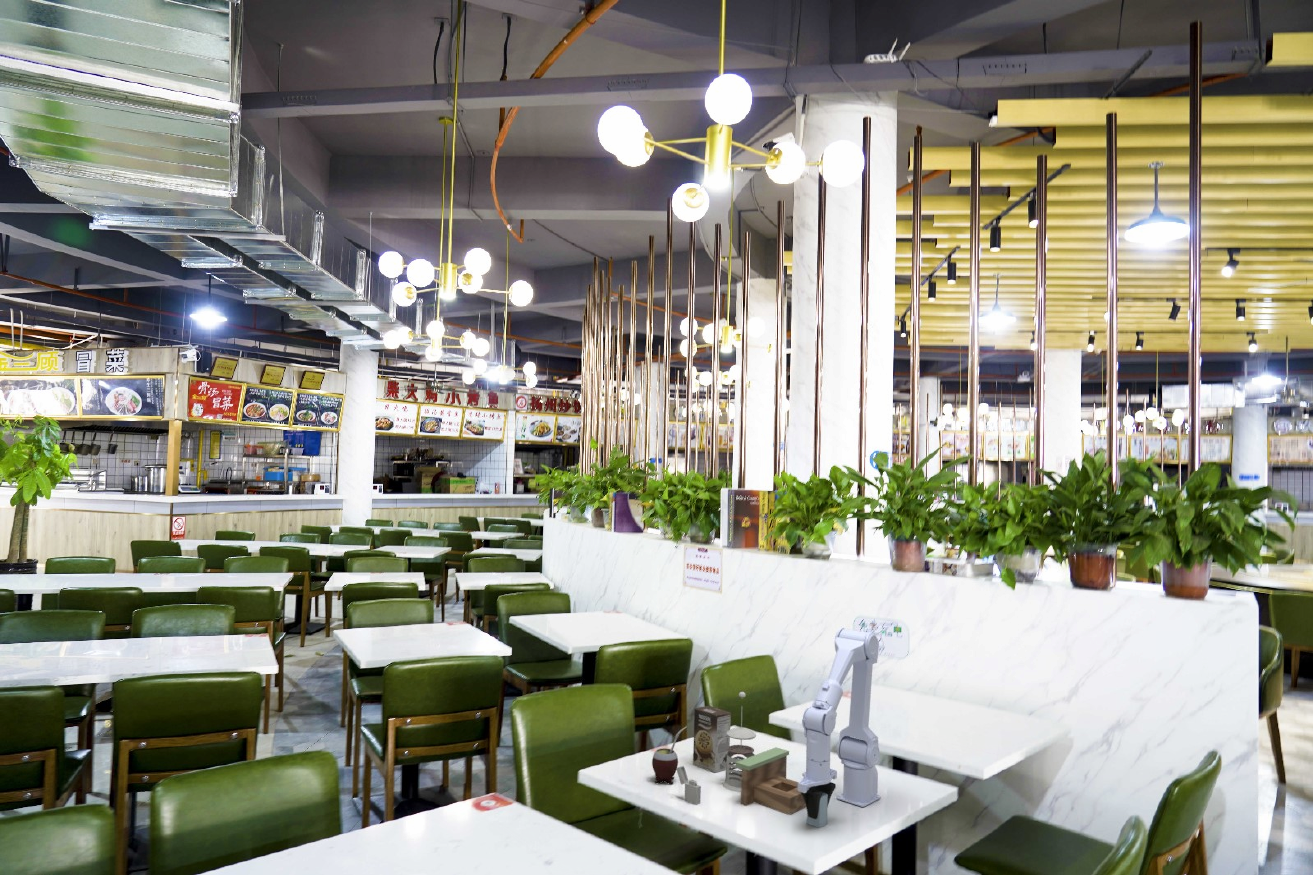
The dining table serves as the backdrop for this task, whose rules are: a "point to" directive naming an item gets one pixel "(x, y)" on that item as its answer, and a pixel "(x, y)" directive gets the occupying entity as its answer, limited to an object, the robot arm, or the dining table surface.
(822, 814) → the peg
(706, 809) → the dining table surface
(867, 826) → the dining table surface
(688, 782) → the lighter
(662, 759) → the mate gourd
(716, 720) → the coffee box
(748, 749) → the french press
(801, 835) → the dining table surface
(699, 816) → the dining table surface
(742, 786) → the socket holder
